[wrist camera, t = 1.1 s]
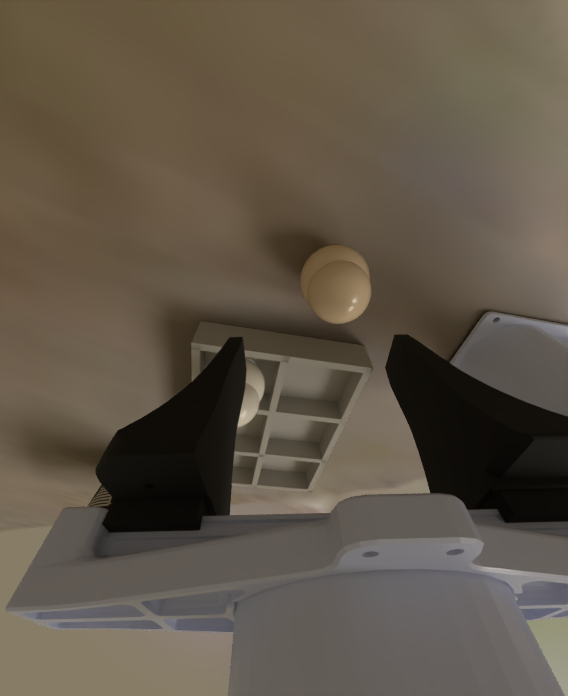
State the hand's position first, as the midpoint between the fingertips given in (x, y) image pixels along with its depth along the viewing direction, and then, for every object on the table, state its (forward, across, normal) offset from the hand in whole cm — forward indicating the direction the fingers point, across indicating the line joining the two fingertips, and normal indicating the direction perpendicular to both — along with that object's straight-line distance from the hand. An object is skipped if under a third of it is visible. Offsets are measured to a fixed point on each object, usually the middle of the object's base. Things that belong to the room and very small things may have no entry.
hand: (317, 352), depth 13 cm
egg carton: (+9, +3, +14) cm, 17 cm away
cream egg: (+8, +5, +7) cm, 12 cm away
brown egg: (+9, -2, -1) cm, 9 cm away
